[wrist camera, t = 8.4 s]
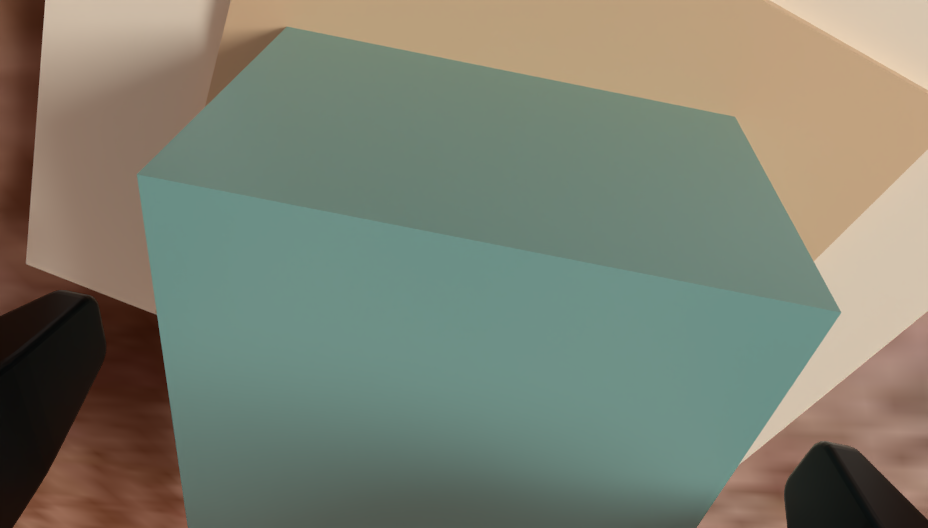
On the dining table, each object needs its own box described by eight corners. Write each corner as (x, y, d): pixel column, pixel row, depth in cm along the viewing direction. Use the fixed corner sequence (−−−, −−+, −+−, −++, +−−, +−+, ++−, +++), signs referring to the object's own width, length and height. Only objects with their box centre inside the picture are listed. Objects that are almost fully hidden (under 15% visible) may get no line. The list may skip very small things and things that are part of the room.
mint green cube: (735, 116, 9) (841, 312, 6) (603, 413, 12) (622, 635, 9) (286, 26, 9) (136, 174, 6) (284, 352, 12) (192, 556, 9)
